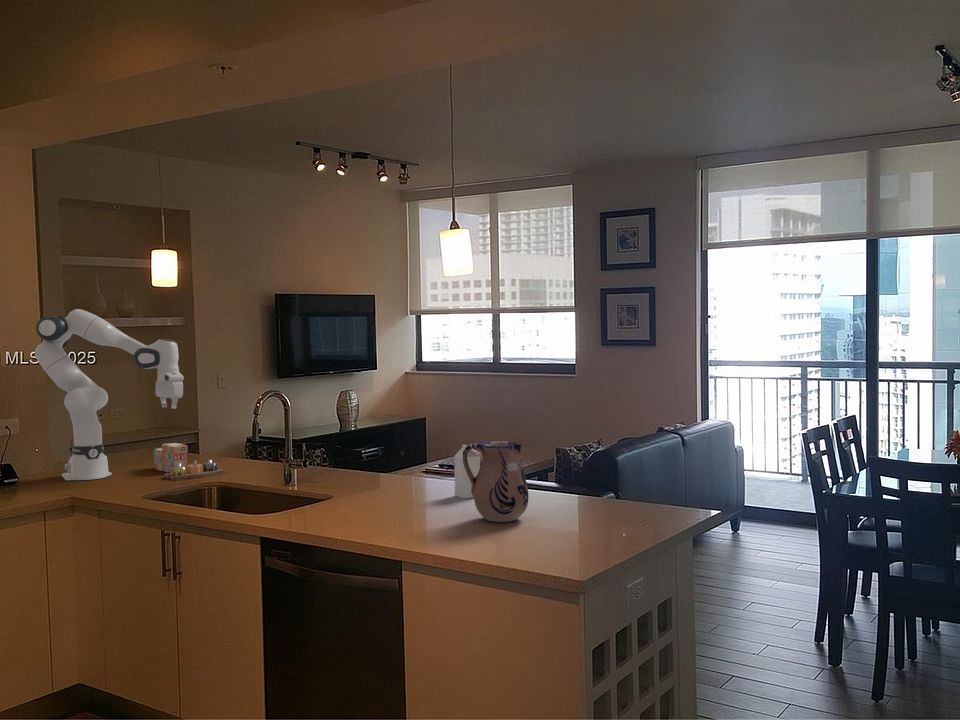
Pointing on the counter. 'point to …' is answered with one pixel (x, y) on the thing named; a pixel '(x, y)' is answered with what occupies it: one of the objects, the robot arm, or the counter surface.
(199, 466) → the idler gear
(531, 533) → the counter surface
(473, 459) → the milk carton
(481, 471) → the ceramic pitcher
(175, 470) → the drive gears
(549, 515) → the counter surface
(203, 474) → the gear board
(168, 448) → the stack of blocks
